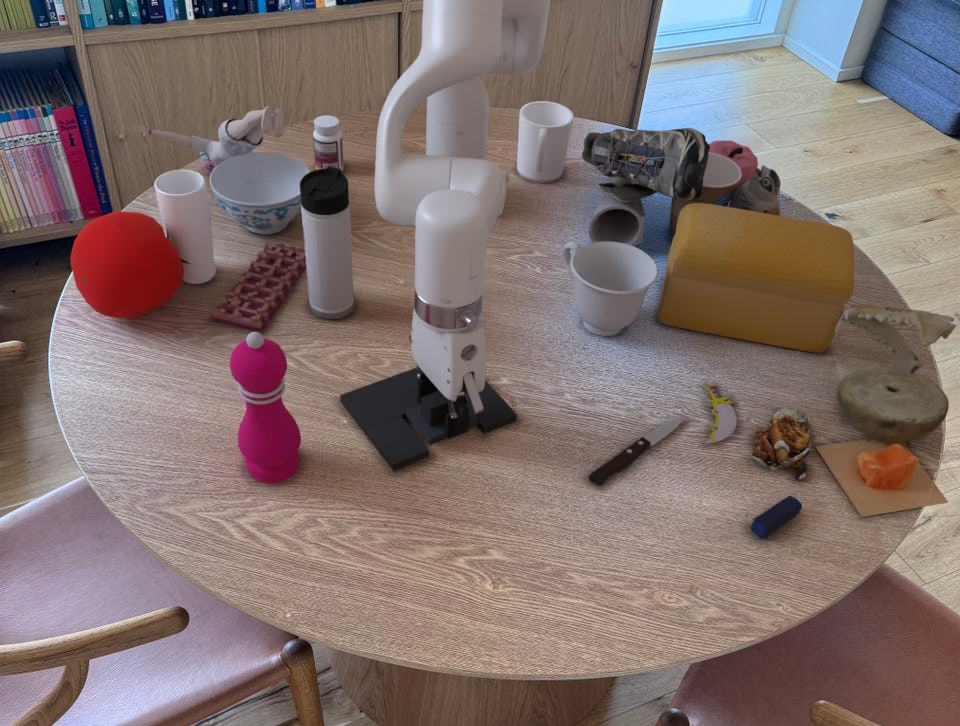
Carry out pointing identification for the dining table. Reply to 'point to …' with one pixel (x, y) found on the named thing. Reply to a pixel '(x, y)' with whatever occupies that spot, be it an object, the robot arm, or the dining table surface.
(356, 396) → the black u-shaped block
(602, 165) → the running shoe
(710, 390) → the decorative knife
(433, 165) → the robot arm
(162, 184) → the drinking glass
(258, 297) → the chocolate bar
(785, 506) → the eraser
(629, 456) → the kitchen knife
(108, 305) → the tomato
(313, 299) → the travel mug
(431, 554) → the dining table surface
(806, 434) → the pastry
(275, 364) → the pepper mill
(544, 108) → the mug
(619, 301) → the teacup
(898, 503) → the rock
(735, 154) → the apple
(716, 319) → the bread
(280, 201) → the chinaware
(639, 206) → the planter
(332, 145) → the pill bottle
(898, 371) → the weight
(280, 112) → the figurine
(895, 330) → the jawbone
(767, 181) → the figurine
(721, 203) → the coffee cup
